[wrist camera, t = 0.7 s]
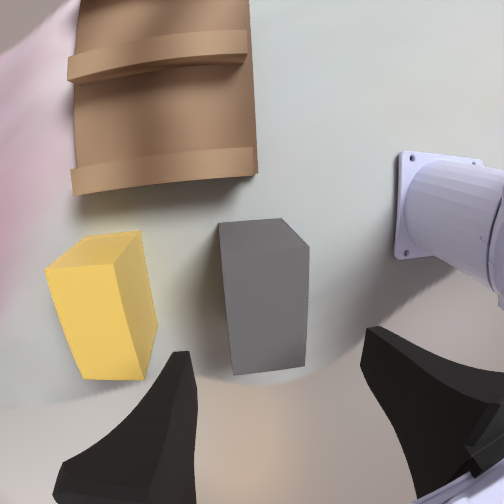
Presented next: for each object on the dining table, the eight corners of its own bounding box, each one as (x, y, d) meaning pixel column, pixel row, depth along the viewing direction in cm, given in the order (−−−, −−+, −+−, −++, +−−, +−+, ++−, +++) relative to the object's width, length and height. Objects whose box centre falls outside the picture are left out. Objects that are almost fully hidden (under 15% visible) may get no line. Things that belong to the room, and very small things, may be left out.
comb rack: (244, -33, 13) (249, -54, 11) (256, 172, 18) (263, 175, 16) (87, -10, 12) (73, -26, 10) (84, 190, 17) (66, 197, 14)
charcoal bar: (218, 222, 19) (220, 254, 13) (281, 218, 19) (309, 246, 14) (227, 319, 21) (233, 375, 16) (282, 313, 22) (304, 366, 16)
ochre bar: (86, 236, 18) (44, 269, 12) (140, 230, 19) (113, 263, 13) (108, 326, 20) (83, 378, 15) (158, 324, 21) (144, 380, 15)
